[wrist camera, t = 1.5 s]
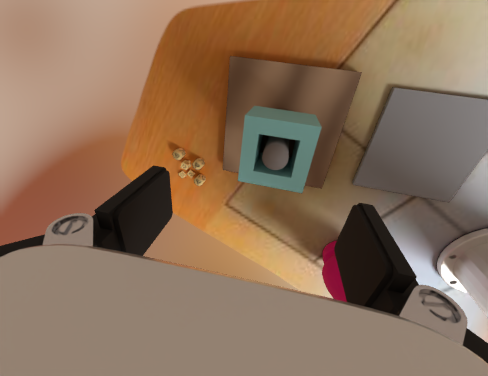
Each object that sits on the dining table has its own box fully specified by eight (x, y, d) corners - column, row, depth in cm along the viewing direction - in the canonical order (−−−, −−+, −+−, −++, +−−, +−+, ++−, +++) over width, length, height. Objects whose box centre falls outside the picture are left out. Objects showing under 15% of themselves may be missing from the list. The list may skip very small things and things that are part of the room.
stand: (358, 72, 23) (404, 75, 13) (320, 183, 30) (333, 237, 21) (233, 56, 25) (195, 49, 15) (225, 165, 32) (196, 208, 22)
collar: (315, 114, 20) (321, 127, 16) (300, 170, 24) (302, 193, 19) (254, 105, 21) (244, 115, 17) (247, 160, 24) (237, 180, 20)
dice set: (178, 145, 32) (172, 149, 31) (210, 154, 32) (206, 158, 30) (177, 173, 35) (171, 179, 33) (206, 182, 35) (202, 188, 33)
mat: (515, 103, 22) (521, 104, 21) (446, 199, 28) (449, 202, 27) (392, 87, 23) (394, 87, 23) (352, 182, 29) (353, 184, 29)
